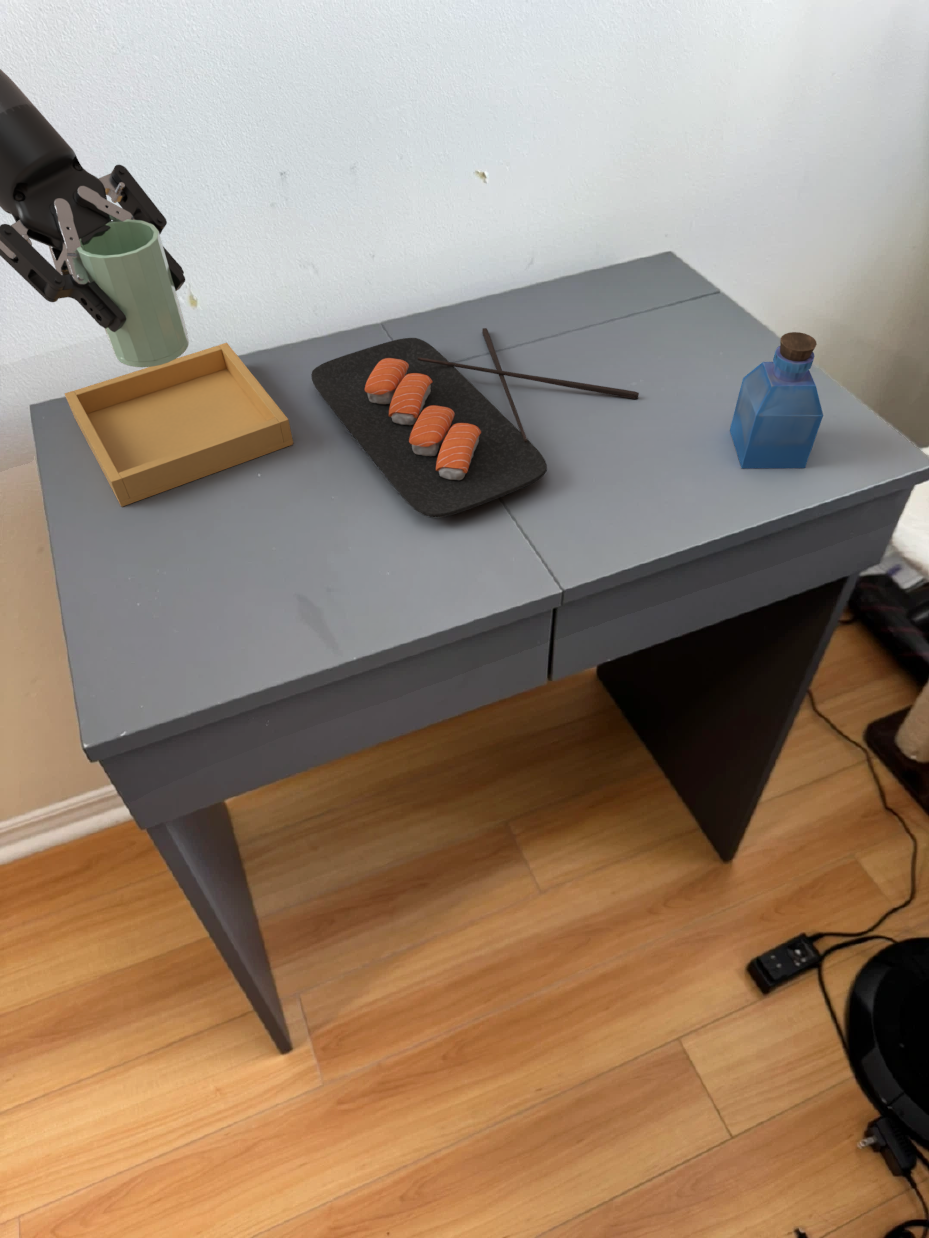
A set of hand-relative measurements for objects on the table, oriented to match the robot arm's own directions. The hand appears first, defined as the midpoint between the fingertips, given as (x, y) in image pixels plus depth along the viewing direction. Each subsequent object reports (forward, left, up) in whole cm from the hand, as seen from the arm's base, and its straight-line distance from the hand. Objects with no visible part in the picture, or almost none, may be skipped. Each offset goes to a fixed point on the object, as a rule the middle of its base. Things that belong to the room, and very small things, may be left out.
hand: (151, 305), depth 75 cm
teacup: (-1, +1, -4) cm, 5 cm away
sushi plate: (+29, -8, -17) cm, 35 cm away
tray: (0, +6, -17) cm, 18 cm away
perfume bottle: (+49, -29, -17) cm, 60 cm away
